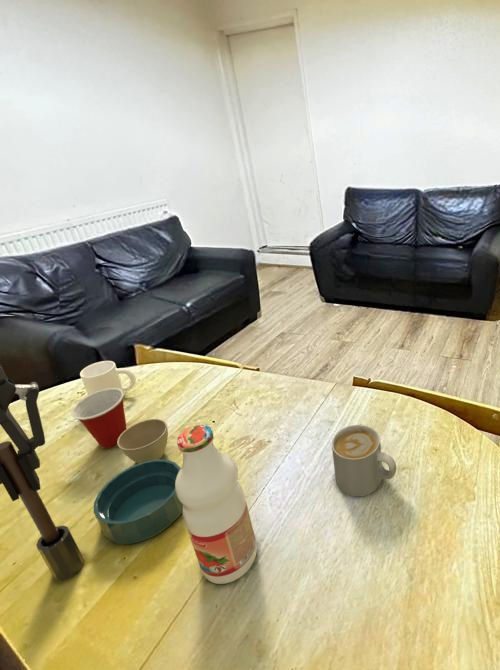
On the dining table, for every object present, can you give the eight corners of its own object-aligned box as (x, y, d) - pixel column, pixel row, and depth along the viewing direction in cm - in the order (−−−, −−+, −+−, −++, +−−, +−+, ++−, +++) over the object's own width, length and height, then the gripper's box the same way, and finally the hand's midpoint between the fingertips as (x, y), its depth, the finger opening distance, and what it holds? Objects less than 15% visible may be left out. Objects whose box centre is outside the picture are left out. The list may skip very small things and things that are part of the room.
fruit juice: (265, 563, 72) (235, 438, 60) (210, 598, 67) (165, 469, 55) (247, 525, 79) (217, 406, 67) (196, 553, 74) (154, 431, 62)
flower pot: (158, 436, 102) (150, 413, 99) (183, 450, 97) (176, 427, 95) (117, 463, 95) (107, 439, 92) (142, 480, 90) (133, 455, 87)
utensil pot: (47, 580, 70) (29, 549, 67) (67, 555, 75) (51, 524, 71) (71, 581, 70) (54, 550, 67) (90, 556, 74) (75, 525, 71)
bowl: (84, 544, 76) (73, 522, 74) (135, 479, 90) (127, 458, 88) (162, 548, 75) (153, 525, 73) (202, 481, 89) (195, 460, 86)
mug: (142, 384, 123) (132, 355, 119) (137, 400, 116) (127, 369, 112) (96, 394, 120) (84, 364, 116) (88, 411, 113) (75, 380, 108)
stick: (41, 542, 68) (-11, 450, 60) (51, 531, 70) (2, 440, 62) (52, 542, 68) (2, 450, 60) (62, 531, 70) (14, 441, 62)
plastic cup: (82, 441, 102) (65, 402, 97) (130, 420, 109) (116, 382, 104) (92, 464, 95) (74, 423, 90) (143, 439, 101) (129, 400, 97)
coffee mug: (326, 483, 87) (321, 446, 83) (355, 453, 94) (352, 418, 90) (377, 512, 80) (375, 474, 76) (404, 478, 87) (403, 441, 83)
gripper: (-133, 399, 48) (-40, 536, 58) (29, 352, 57) (86, 478, 66) (-120, 372, 53) (-37, 502, 63) (27, 333, 62) (79, 452, 72)
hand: (26, 489), depth 65 cm, fingers closed on stick, 2 cm apart
